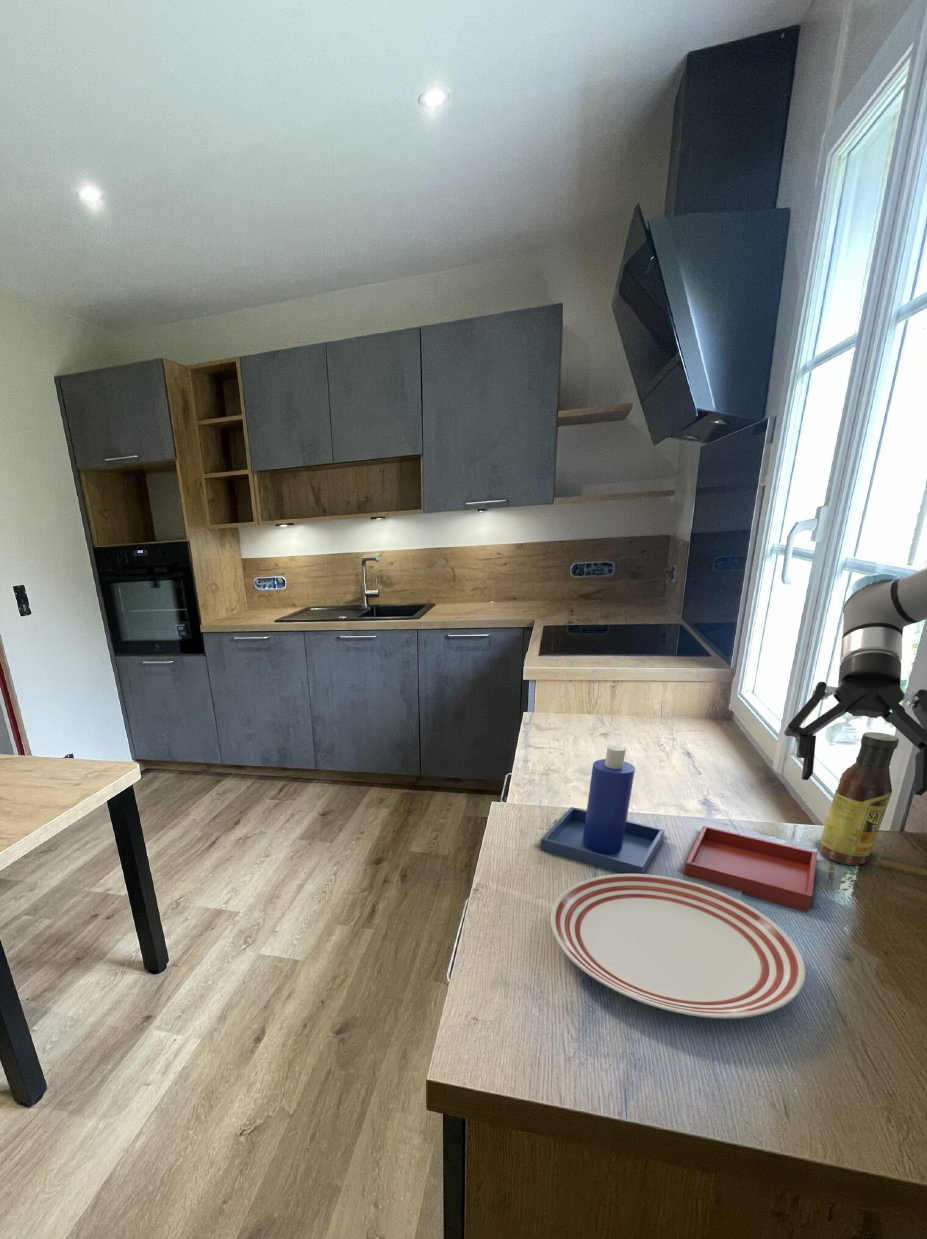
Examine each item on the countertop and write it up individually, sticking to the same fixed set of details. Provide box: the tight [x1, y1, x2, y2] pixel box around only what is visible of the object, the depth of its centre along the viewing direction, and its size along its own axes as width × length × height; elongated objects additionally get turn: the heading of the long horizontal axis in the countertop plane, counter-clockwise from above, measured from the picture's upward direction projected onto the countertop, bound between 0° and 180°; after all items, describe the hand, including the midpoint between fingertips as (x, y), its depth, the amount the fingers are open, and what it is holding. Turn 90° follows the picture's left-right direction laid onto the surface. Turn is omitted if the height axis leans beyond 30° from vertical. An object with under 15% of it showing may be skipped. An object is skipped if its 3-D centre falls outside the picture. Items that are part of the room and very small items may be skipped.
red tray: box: [683, 825, 818, 913], centre depth 92 cm, size 15×14×2 cm
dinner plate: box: [549, 873, 807, 1019], centre depth 76 cm, size 28×27×3 cm
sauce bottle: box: [818, 731, 900, 866], centre depth 91 cm, size 6×6×20 cm
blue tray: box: [539, 806, 666, 874], centre depth 100 cm, size 15×14×2 cm
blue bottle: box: [582, 744, 636, 854], centre depth 97 cm, size 6×6×17 cm
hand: (862, 784), depth 91 cm, fingers open, 13 cm apart
